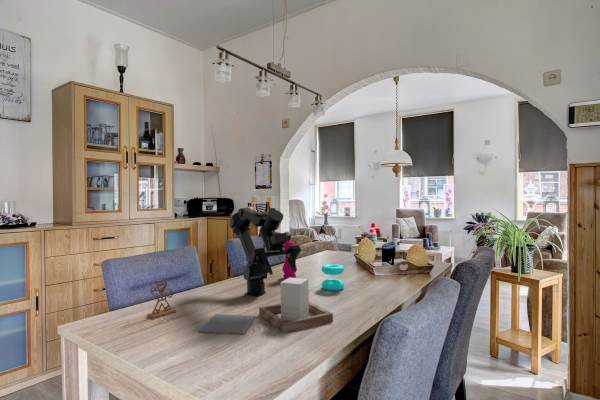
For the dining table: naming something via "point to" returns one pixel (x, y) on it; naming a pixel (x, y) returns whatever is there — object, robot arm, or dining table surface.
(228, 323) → the slate mat
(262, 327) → the dining table surface
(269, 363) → the dining table surface
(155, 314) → the brown openwork stand
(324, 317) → the walnut pocket
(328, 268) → the donuts
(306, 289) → the supplement box
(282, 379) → the dining table surface
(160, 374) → the dining table surface
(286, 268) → the pepper mill
